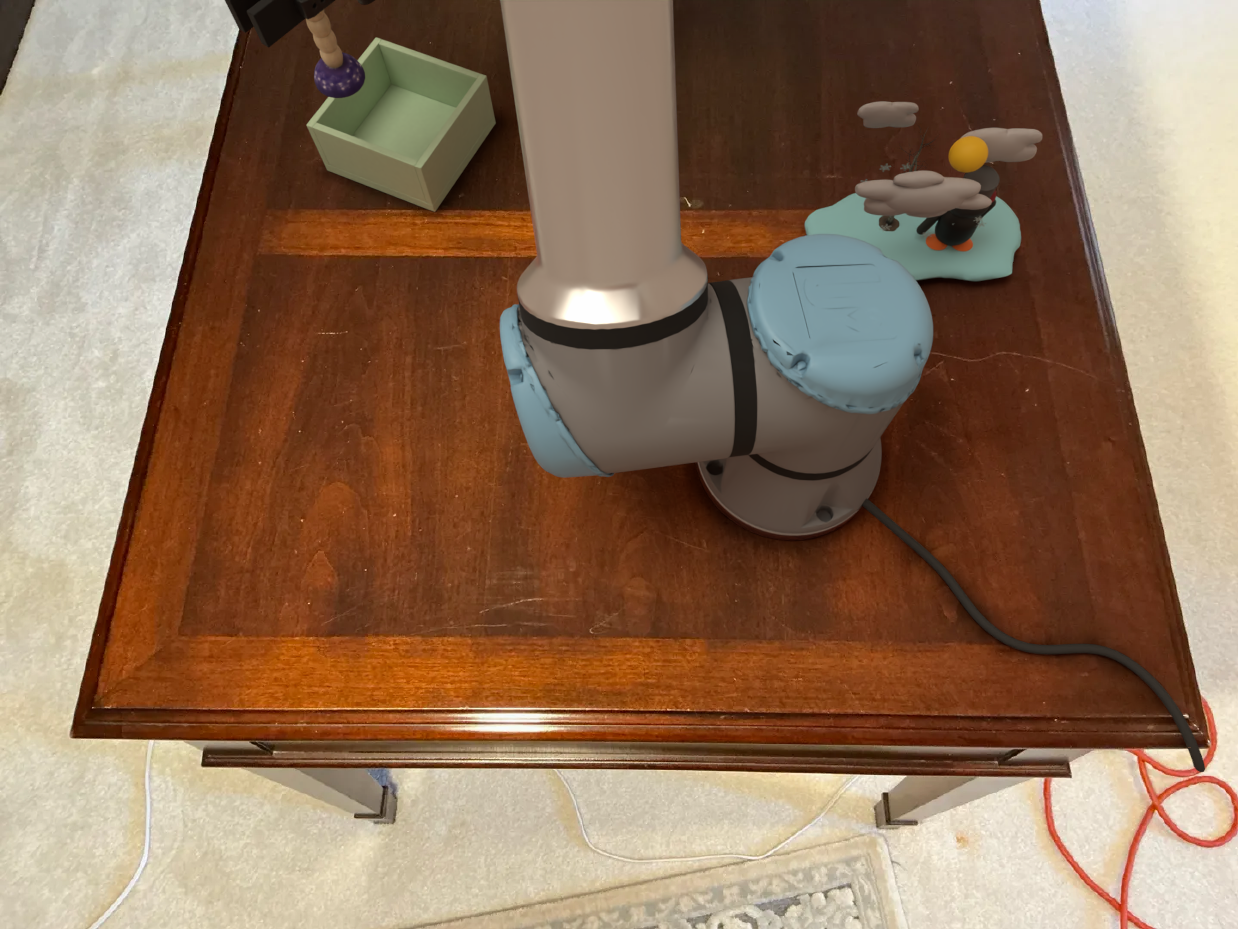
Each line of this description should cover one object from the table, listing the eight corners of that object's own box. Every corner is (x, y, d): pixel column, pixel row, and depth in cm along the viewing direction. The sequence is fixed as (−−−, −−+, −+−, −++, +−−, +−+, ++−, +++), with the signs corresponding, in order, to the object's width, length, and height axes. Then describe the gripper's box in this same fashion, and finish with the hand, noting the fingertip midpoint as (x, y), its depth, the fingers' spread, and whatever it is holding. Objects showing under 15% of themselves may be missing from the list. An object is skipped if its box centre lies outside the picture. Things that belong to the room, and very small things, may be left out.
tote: (496, 123, 86) (486, 75, 81) (435, 212, 82) (420, 168, 77) (391, 85, 89) (375, 36, 83) (327, 170, 84) (305, 124, 79)
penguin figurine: (1006, 200, 82) (1083, 72, 68) (1026, 293, 78) (1113, 177, 64) (798, 201, 82) (832, 74, 68) (808, 295, 78) (846, 179, 64)
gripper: (537, -64, 70) (334, 108, 63) (406, -134, 74) (201, 22, 67) (527, -161, 63) (298, 21, 56) (383, -232, 67) (152, -70, 60)
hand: (246, 21), depth 62 cm, fingers closed on toy lamp, 2 cm apart
